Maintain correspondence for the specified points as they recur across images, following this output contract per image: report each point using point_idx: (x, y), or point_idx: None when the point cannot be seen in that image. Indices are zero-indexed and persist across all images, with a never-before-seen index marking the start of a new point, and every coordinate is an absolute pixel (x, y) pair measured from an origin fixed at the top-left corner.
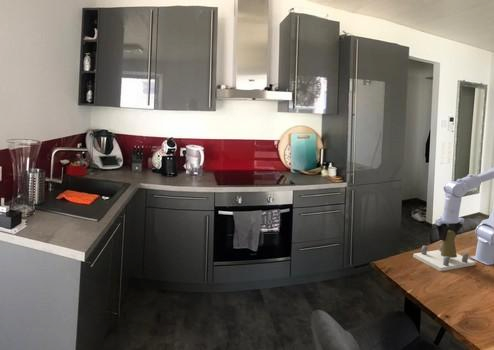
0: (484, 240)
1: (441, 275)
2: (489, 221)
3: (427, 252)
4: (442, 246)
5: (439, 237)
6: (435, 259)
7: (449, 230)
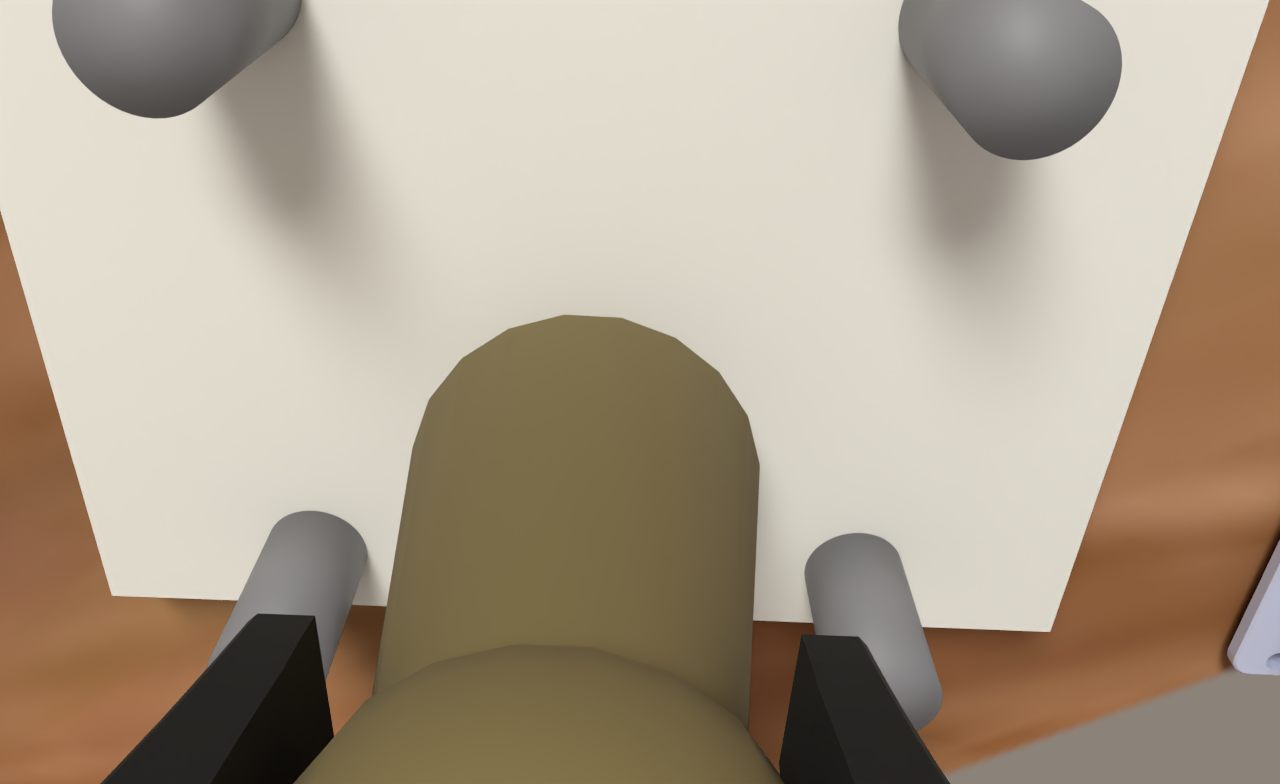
0: None
1: (51, 633)
2: None
3: None
4: (405, 534)
5: (215, 675)
6: (296, 329)
7: None
